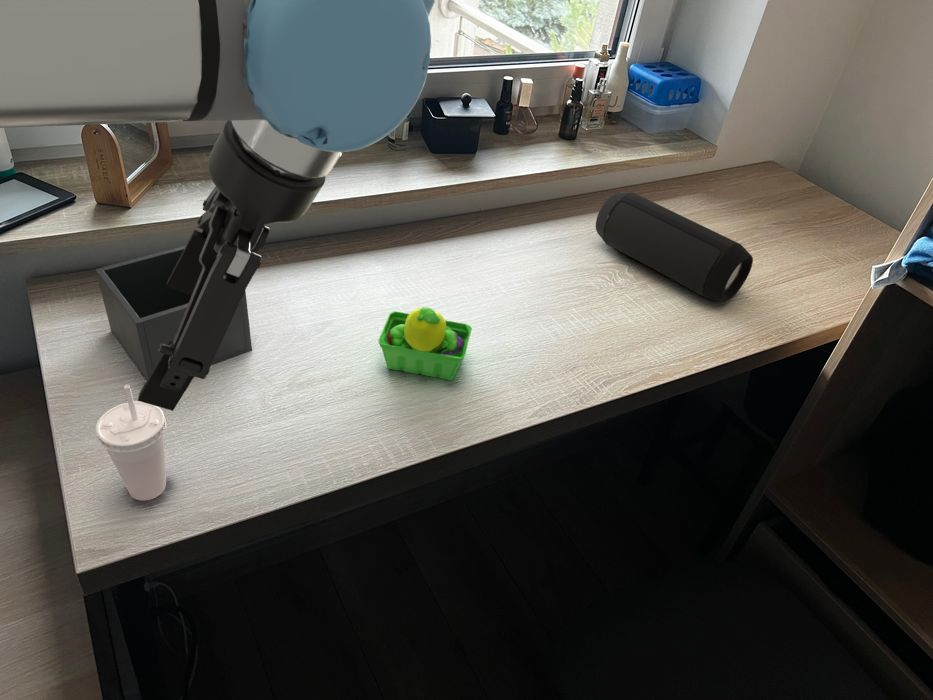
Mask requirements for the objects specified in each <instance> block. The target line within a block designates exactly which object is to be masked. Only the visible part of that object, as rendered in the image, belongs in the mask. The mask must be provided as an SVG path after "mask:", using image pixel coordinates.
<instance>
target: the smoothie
mask: <svg viewBox="0 0 933 700" xmlns="http://www.w3.org/2000/svg"><path fill="white" fill-rule="evenodd" d="M123 390H124V394H125V398H126V402H124V403H120V404H118V405H115V406H114V407H112V408H110V409H109V410H107V411H105V412H104V413H103V414H102V415H101V416H100V418H99V419H98V421H97V422H96V425H95V433H96V439H97V441H98V443H99V444H100V446H101V447H103V448H104V449H106V451H107V453H108V455H109V457H110V459H111V461H112V463H113V465H114V467H115V469H116V470H117V472H118V475H119V476H120V478H121V479H122V483H123V484H124V487H126V489H127V492H128V493H129V495H130V497H131V498H132V499H134V500H137V501H141V502H142V501H144V502H145V501H150V500H153V499H155V498H158V497H159V496H161V495H162V494H163V493H164V492H165V490H166V488H167V475H166V473H167V472H166V454H165V452H166V450H165V449H166V448H165V432H166V429H167V419H166V416H165V413H164V410H162V408H161V407H158V406H154V405H151V404H147V403H144V402H140V401H134V395H133V392H132V389H131V385H130V384H125V385H124V386H123Z"/></svg>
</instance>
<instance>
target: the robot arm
mask: <svg viewBox="0 0 933 700" xmlns="http://www.w3.org/2000/svg"><path fill="white" fill-rule="evenodd" d="M436 2H437V0H0V129H6V128H7V129H9V128H11V129H12V128H37V127H38V128H40V127H64V126H67V127H68V126H91V125H92V126H93V125H119V124H121V125H122V124H123V125H124V124H148V123H150V124H151V123H174V122H176V123H177V122H203V121H204V122H209V121H210V122H212V121H213V122H214V121H215V122H216V121H217V122H219V121H220V122H222V121H223V122H225V121H226V123H225V124H224V126H223V128H222V130H221V131H220V134H219V136H218V137H217V139H216V142H215V143H214V145H213V148H212V149H211V151H210V153H209V155H208V158H207V171H208V174H209V177H210V179H211V181H212V183H213V185H214V188H213V189H212V191H211V192H210V193H209V195H208V196H207V197H206V199H204V200H203V203H202V211H204V212H203V213H202V214H201V215H200V217H198V219H197V221H196V223H197V226H196V228H198V229H200V230H197V229H194V230H193V231H192V234H191V236H190V238H189V239H188V241H187V243H186V247H185V249H184V251H183V252H182V254H181V256H180V258H179V260H178V262H177V264H176V266H175V268H174V270H173V271H172V273H171V275H170V277H169V279H168V281H167V285H166V286H167V287H169V288H172V289H175V290H177V291H180V292H183V293H186V294H188V295H191V299H190V301H189V304H188V306H187V308H186V311H185V313H184V316H183V318H182V321H181V323H180V326H179V328H178V331H177V333H176V336H175V338H174V341H170V340H169V342H168V344H167V345H165V344H162V343H160V346H159V349H158V352H159V353H162V354H161V356H160V358H159V359H158V361H157V363H156V365H155V367H154V368H153V370H152V372H151V374H150V375H149V377H148V379H147V381H146V380H145V382H144V384H143V386H142V388H141V390H140V391H139V393H138V397H137V402H144V403H147V404H151V405H154V406H158V407H159V408H160V409H165V410H168V411H172V412H174V410H175V409H176V407H177V405H178V404H179V402H180V401H181V399H182V397H183V395H184V394H185V392H186V391H187V389H188V388H189V386H190V384H191V383H192V381H193V380H194V378H197V379H200V380H205V379H206V378H207V376H208V375H209V373H210V369H211V366H212V365H213V364H212V362H213V359H214V357H215V355H216V353H217V351H218V349H219V346H220V344H221V342H222V340H223V338H224V336H225V333H226V331H227V329H228V327H229V325H230V322H231V320H232V318H233V316H234V314H235V312H236V309H237V307H238V305H239V303H240V301H241V299H242V296H243V294H244V292H245V291H247V290H246V289H247V287H248V286H249V284H250V282H251V281H252V279H253V277H254V275H255V274H256V272H257V270H258V269H259V268H260V267H261V265H262V255H260V254H258V251H259V250H260V249H262V248H263V247H264V245H265V244H266V241H267V238H268V237H269V234H270V230H271V229H270V227H268V226H266V225H269V224H277V223H278V224H279V223H281V224H282V223H283V224H284V223H292V222H295V221H298V220H300V219H301V218H302V217H303V216H305V215H306V213H307V212H308V211H309V208H311V205H312V204H313V202H314V201H315V199H316V197H317V196H318V194H319V192H320V191H321V190H322V188H323V186H324V185H325V182H326V176H328V175H329V174H330V173H331V172H332V170H333V169H334V167H335V166H336V164H337V162H338V161H339V159H340V158H341V156H342V154H343V153H346V152H347V153H349V152H353V151H354V152H355V151H358V150H361V149H362V150H363V149H365V148H367V147H370V146H372V145H374V144H375V143H378V142H379V141H381V140H383V139H384V138H385V137H387V136H389V135H390V134H391V133H393V132H394V131H395V130H396V129H397V128H398V127H399V126H400V125H402V123H403V121H405V120H406V118H407V117H408V116H409V115H410V113H411V112H412V110H413V108H414V107H415V106H416V104H417V102H418V100H419V98H420V97H421V93H422V92H423V89H424V87H425V84H426V80H427V78H428V77H427V76H428V72H429V66H430V63H431V50H432V32H431V22H430V19H429V17H430V16H431V13H432V10H433V8H434V7H435V5H436ZM211 364H212V365H211Z"/></svg>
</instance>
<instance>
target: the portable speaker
mask: <svg viewBox="0 0 933 700" xmlns="http://www.w3.org/2000/svg"><path fill="white" fill-rule="evenodd" d="M595 231H596V233H597V234H598V236H599V237H600V239H602V241H603V242H604V243H605V244H606V245H608V246H609V247H611V248H613V249H615V250H617V251H619V252H620V253H622V254H624V255H626V256H628V257H629V258H632V259H634V260H635V261H637V262H639V263H641V264H643V265H644V266H646V267H648V268H650V269H651V270H654V271H656V272H657V273H660V274H661V275H663V276H665V277H667V278H668V279H671V280H673V281H674V282H676V283H678V284H679V285H681V286H683V287H685V288H687V289H689V290H691V291H693V292H694V293H696V294H698V295H700V296H702V297H703V298H706V299H707V300H713V301H720V302H728V301H730V300H731V299H732V298H733V297H734V296H736V294H738V292H739V291H740V289H741V288H742V287H743V285H744V284H745V282H746V281H747V279H748V276H749V275H750V272H751V270H752V267H753V263H754V258H753V255H752V254H751V253H750V252H749V251H748V250H747V249H746V248H745V246H743V244H741V243H739V242H738V241H736V240H733V239H731V238H729V237H727V236H725V235H723V234H720V233H718V232H717V231H715V230H712V229H710V228H708V227H706V226H704V225H702V224H700V223H698V222H696V221H694V220H692V219H689V218H687V217H685V216H683V215H681V214H679V213H677V212H675V211H672V210H670V209H669V208H667V207H665V206H662V205H660V204H658V203H656V202H654V201H652V200H650V199H648V198H645V197H644V196H641V195H640V194H638V193H636V192H629V191H617V192H614V193H613V194H611V195H610V196H609V197H607V199H606V200H605V201H604V203H603V204H602V205H601V208H600V210H599V211H598V213H597V216H596V220H595Z"/></svg>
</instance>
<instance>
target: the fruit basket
mask: <svg viewBox="0 0 933 700" xmlns="http://www.w3.org/2000/svg"><path fill="white" fill-rule="evenodd" d="M472 329H473V328H472V326H471V325H469V324H468V323H464V322H458V321H451V320H446V319H445V318H444V317H443V315H442V314H441V313H439V311H436V310H434V309H433V308H431V307H429V306H428V307H427V306H423V307H420V308H416V309H414V310H412V311H411V312H410V313H408V312H407V313H406V312H401V311H391V312H389V314H388V316H387V319H386V321H385V323H384V326H383V328H382V331H381V333H380V335H379V336H378V337H379V338H378V344H379V346H380V348H381V350H382V353H383V357H384V360H385V364H386V368H387V369H388V370H392V371H393V370H394V371H403V372H405V373H409V374H415V375H416V374H417V375H419V374H420V375H423V376H426V377H432V378H439V379H441V380H448V381H453V380H454V378H455V376H456V374H457V372H458V369H459V367H460V365H461V363H462V362H463V361H464V359H465V357H466V354H467V349H468V345H469V341H470V338H471V334H472Z"/></svg>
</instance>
